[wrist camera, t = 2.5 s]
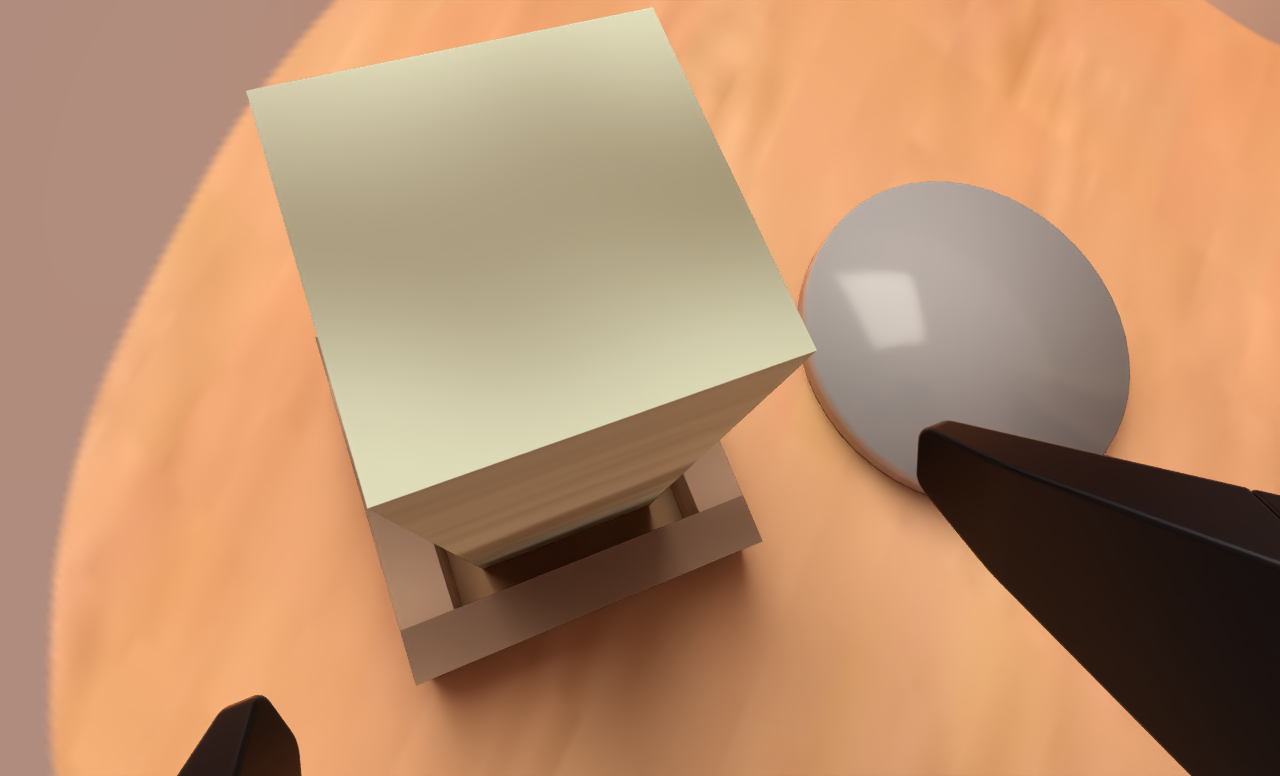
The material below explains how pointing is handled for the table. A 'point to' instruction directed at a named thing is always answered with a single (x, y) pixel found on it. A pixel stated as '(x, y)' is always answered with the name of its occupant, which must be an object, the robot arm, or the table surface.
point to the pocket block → (552, 572)
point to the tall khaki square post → (526, 278)
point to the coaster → (960, 326)
